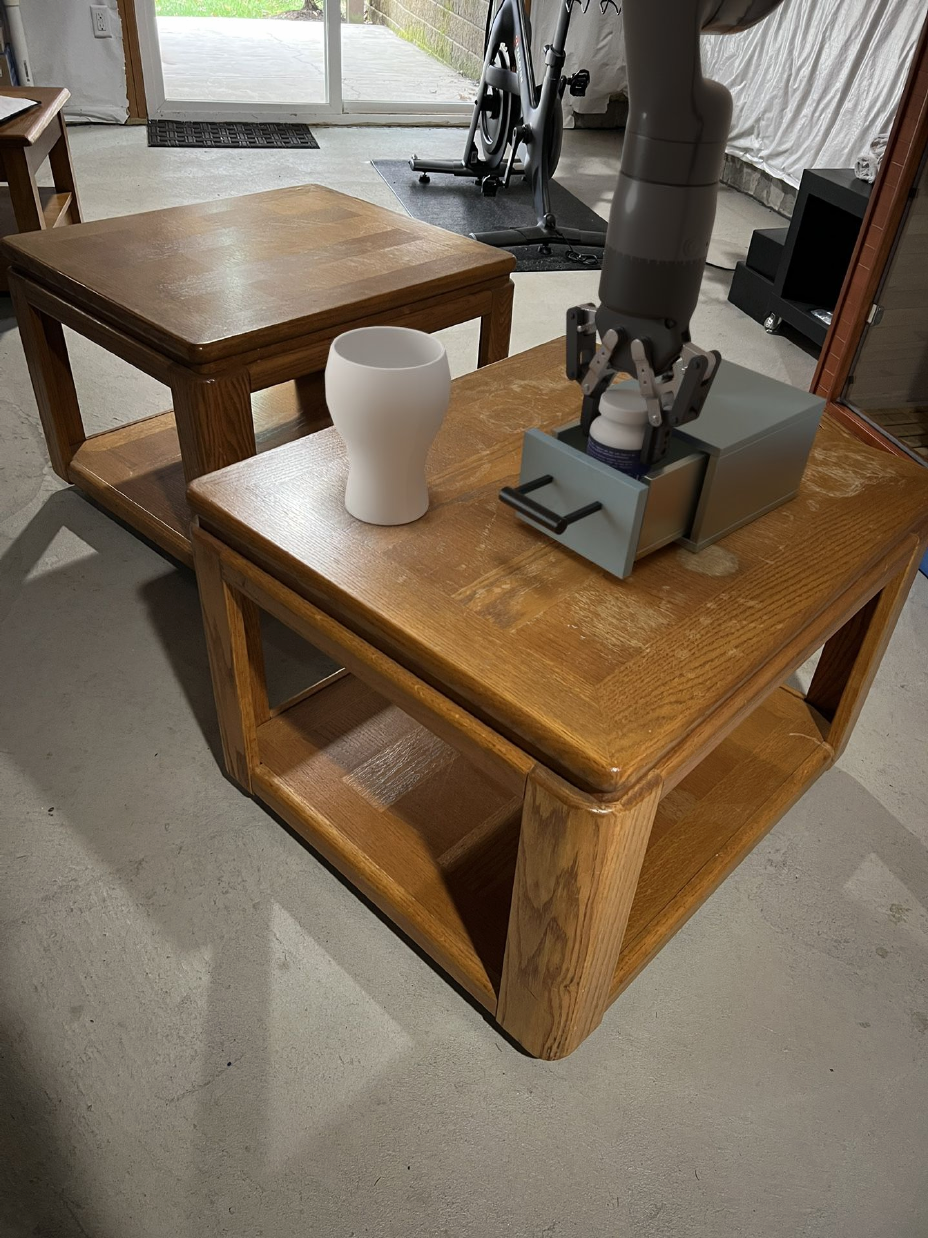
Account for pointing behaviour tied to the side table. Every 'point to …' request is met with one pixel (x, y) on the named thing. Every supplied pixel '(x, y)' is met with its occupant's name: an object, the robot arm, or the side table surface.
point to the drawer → (605, 497)
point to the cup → (387, 417)
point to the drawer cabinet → (746, 448)
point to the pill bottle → (620, 432)
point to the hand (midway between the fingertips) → (620, 447)
